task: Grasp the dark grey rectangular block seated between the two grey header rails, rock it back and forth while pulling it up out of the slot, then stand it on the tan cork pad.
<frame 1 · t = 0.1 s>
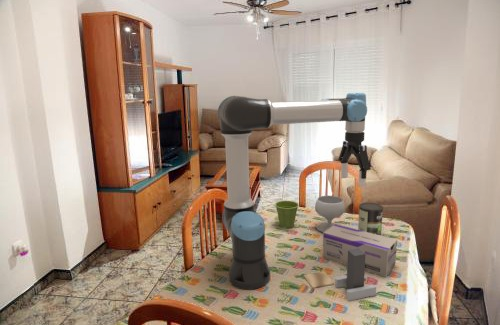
hand: (352, 181, 140), 28 cm above the table, fingers open, 13 cm apart
pad: (318, 280, 119), on the table
plant pot: (286, 226, 167), on the table
surgical sutures box: (357, 261, 131), on the table
chalice: (329, 229, 162), on the table
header: (354, 290, 112), on the table
dark grey rectangular block: (354, 290, 112), on the table
coffee can: (369, 235, 154), on the table
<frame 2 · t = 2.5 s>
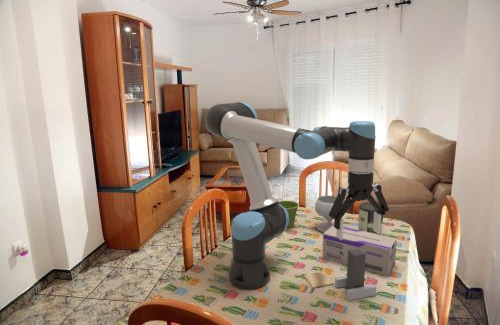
hand: (358, 235, 108), 20 cm above the table, fingers open, 13 cm apart
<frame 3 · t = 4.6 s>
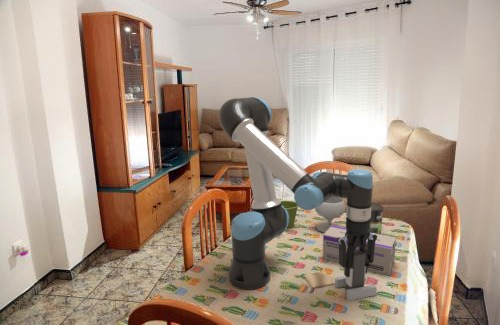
hand: (355, 283, 112), 3 cm above the table, fingers closed on dark grey rectangular block, 4 cm apart
dark grey rectangular block: (354, 290, 112), on the table, touching gripper
everything else where it was.
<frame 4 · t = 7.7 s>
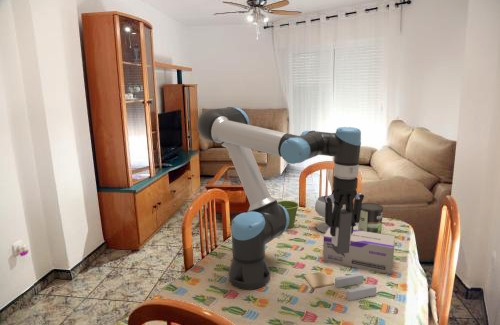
hand: (340, 243, 112), 16 cm above the table, fingers closed on dark grey rectangular block, 4 cm apart
dark grey rectangular block: (340, 250, 112), point 13 cm above the table, touching gripper
when the fingers open (4 cm above the table, at t = 10.7 s): dark grey rectangular block stays where it is, resting on pad.
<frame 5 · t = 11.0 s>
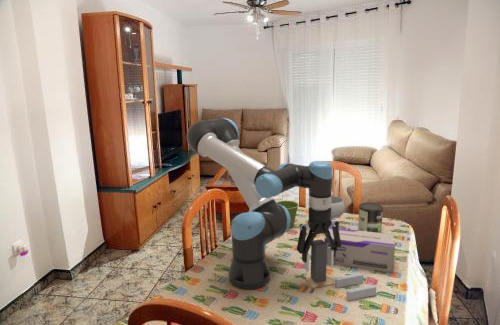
hand: (318, 267, 118), 5 cm above the table, fingers open, 8 cm apart
dark grey rectangular block: (318, 278, 119), point 1 cm above the table, touching pad
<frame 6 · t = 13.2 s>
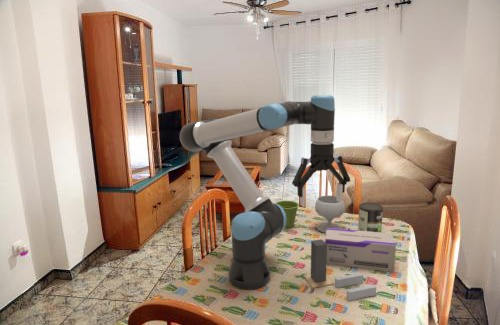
hand: (321, 203, 115), 28 cm above the table, fingers open, 13 cm apart
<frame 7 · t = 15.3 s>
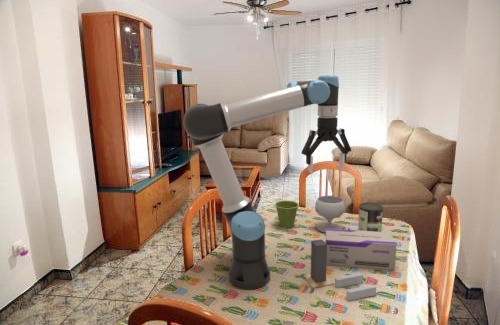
hand: (326, 170, 132), 35 cm above the table, fingers open, 13 cm apart
at the end: dark grey rectangular block inside the target area on the pad (0.0 cm from its centre), point 0.6 cm above the pad's base; dark grey rectangular block tilted 0°; the gripper is holding nothing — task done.
